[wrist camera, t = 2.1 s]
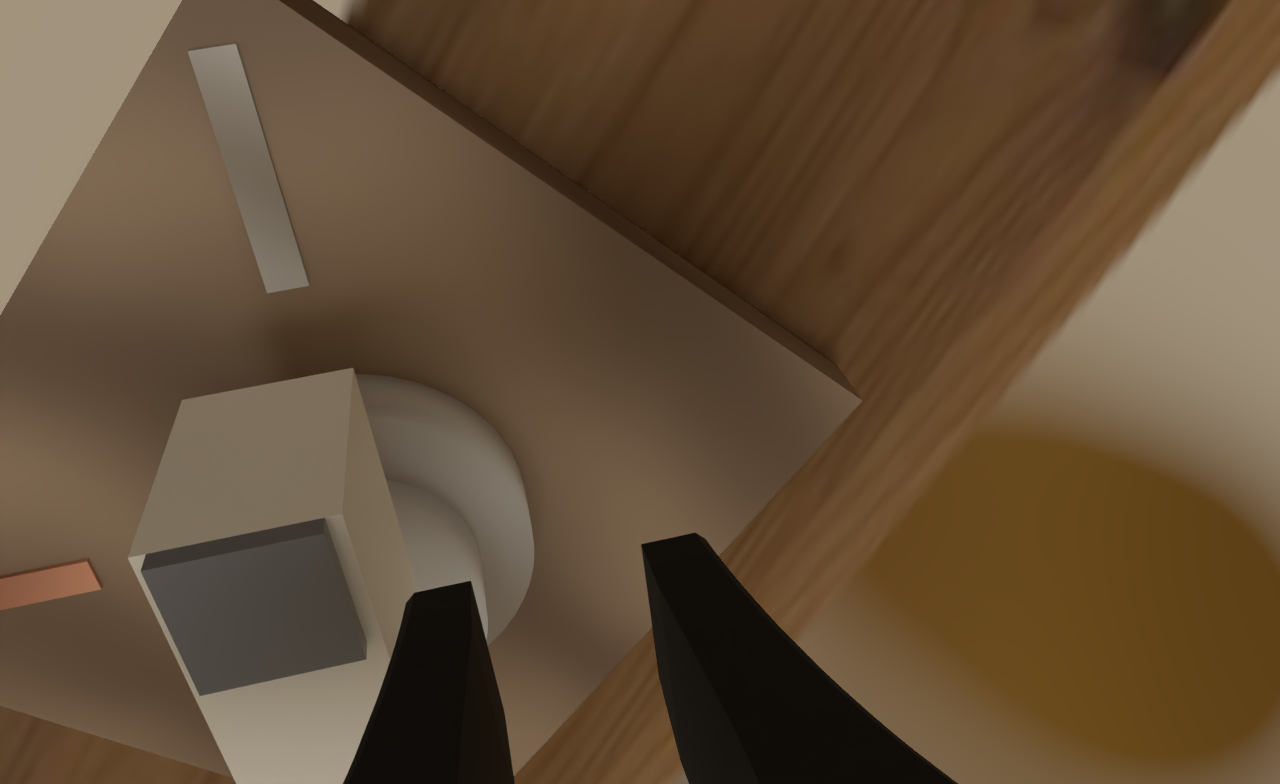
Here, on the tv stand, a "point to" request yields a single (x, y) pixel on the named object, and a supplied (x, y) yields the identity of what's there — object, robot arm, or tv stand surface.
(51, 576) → the base
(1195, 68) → the tv stand surface
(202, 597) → the lock handle
